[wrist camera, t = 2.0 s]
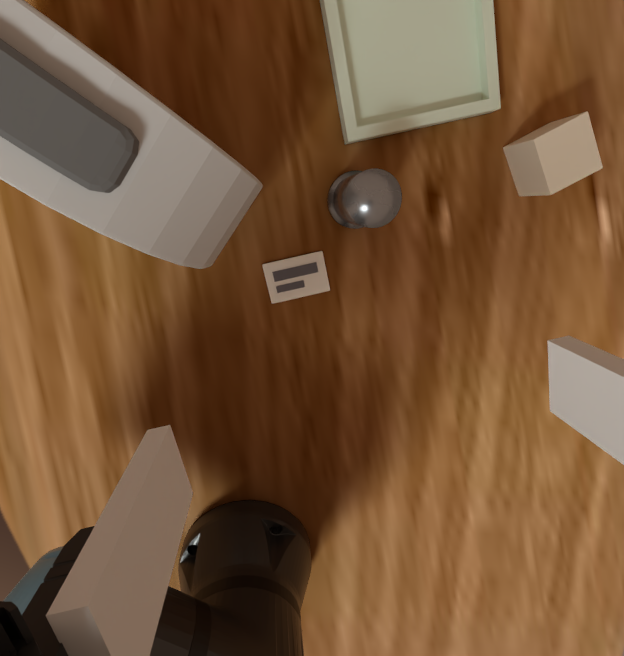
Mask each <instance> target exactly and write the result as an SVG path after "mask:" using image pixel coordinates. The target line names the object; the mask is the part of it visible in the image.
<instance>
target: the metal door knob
mask: <svg viewBox="0 0 624 656" xmlns="http://www.w3.org/2000/svg"><path fill="white" fill-rule="evenodd" d="M401 202H402V192H401V188H400V185H399V183H398V181H397V180H396V178H395V177H394V176H393V175H392V174H390V173H389V172H387V171H385V170H382V169H368V170H365V171H350V172H347V173H345V174H342V175H341V176H339V177H338V178H337V179H336V180H335V181H334V182H333V184H332V185H331V187H330V189H329V192H328V198H327V203H328V209H329V211H330V214H331V215H332V217H333V218H334V220H335V221H336V222H338V223H339V224H341V225H342V226H345V227H348V228H354V229H355V228H362V227H368V228H378V227H381V226H384V225H386V224H388V223H389V222H390V221H392V220H393V219H394V217H395V216H396V215H397V213H398V211H399V209H400V206H401Z"/></svg>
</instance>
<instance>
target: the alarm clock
mask: <svg viewBox="0 0 624 656" xmlns="http://www.w3.org/2000/svg"><path fill="white" fill-rule="evenodd" d="M0 179H1V180H3V181H5V182H6V183H8V184H10V185H11V186H13V187H15V188H17V189H18V190H20V191H22V192H23V193H25V194H27V195H29V196H30V197H32V198H34V199H35V200H37V201H39V202H41V203H42V204H44V205H46V206H48V207H50V208H51V209H53V210H55V211H57V212H59V213H61V214H63V215H65V216H67V217H69V218H71V219H73V220H75V221H77V222H79V223H81V224H83V225H85V226H87V227H88V228H90V229H92V230H94V231H96V232H98V233H100V234H102V235H105V236H107V237H109V238H111V239H114V240H116V241H118V242H121V243H123V244H125V245H127V246H130V247H132V248H134V249H137V250H139V251H141V252H143V253H146V254H148V255H151V256H154V257H157V258H160V259H163V260H166V261H169V262H172V263H175V264H178V265H181V266H187V267H192V268H198V269H203V268H207V267H210V266H212V265H213V263H214V262H215V260H216V259H217V257H218V255H219V254H220V252H221V251H222V249H223V248H224V246H225V245H226V243H227V242H228V240H229V238H230V237H231V235H232V234H233V232H234V231H235V229H236V228H237V226H238V225H239V223H240V221H241V220H242V218H243V217H244V215H245V214H246V212H247V211H248V209H249V208H250V206H251V204H252V203H253V201H254V200H255V198H256V197H257V195H258V194H259V192H260V191H261V189H262V187H263V185H262V183H261V182H260V181H259V180H258V179H257V178H256V177H255V176H254V175H253V174H252V173H250V172H249V171H248V170H247V169H246V168H244V167H243V166H242V165H241V164H240V163H238V162H237V161H236V160H235V159H233V158H232V157H231V156H230V155H228V154H227V153H226V152H225V151H223V150H222V149H221V148H220V147H218V146H217V145H216V144H215V143H213V142H212V141H211V140H210V139H208V138H207V137H206V136H204V135H203V134H202V133H200V132H199V131H198V130H197V129H195V128H194V127H193V126H191V125H190V124H189V123H188V122H186V121H185V120H184V119H182V118H181V117H180V116H179V115H177V114H176V113H175V112H173V111H172V110H171V109H169V108H168V107H167V106H165V105H164V104H163V103H162V102H160V101H159V100H158V99H156V98H155V97H154V96H152V95H151V94H150V93H148V92H147V91H146V90H144V89H143V88H142V87H140V86H139V85H138V84H136V83H135V82H134V81H132V80H131V79H130V78H129V77H127V76H126V75H125V74H123V73H122V72H121V71H119V70H118V69H117V68H115V67H114V66H113V65H111V64H110V63H109V62H107V61H106V60H104V59H103V58H102V57H100V56H99V55H98V54H96V53H95V52H94V51H92V50H91V49H90V48H88V47H87V46H86V45H84V44H83V43H82V42H80V41H79V40H78V39H76V38H75V37H74V36H72V35H71V34H70V33H68V32H67V31H65V30H64V29H63V28H61V27H60V26H59V25H57V24H56V23H55V22H53V21H52V20H50V19H49V18H48V17H46V16H45V15H44V14H42V13H41V12H39V11H38V10H37V9H35V8H34V7H33V6H31V5H30V4H28V3H27V2H26V1H24V0H0Z"/></svg>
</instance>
